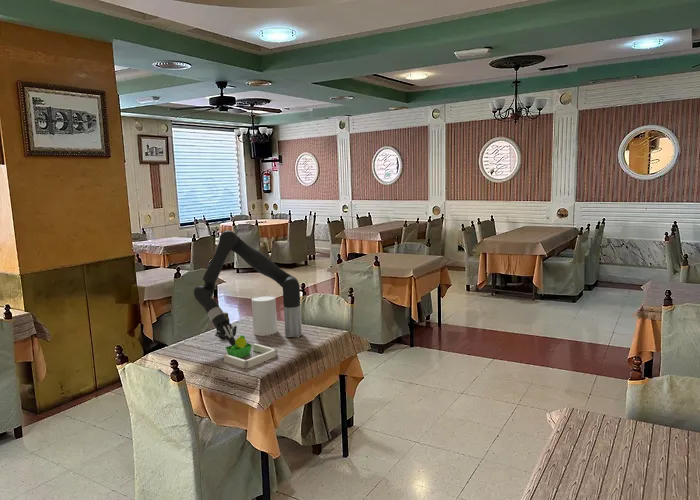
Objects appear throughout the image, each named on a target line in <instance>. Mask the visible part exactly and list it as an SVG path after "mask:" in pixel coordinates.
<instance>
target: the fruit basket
mask: <svg viewBox="0 0 700 500" xmlns="http://www.w3.org/2000/svg"><path fill="white" fill-rule="evenodd" d="M252 347H253V344H250V343H248V342H247V339H246V337H245V335H243V334H242V335H241V334H240V336H238V337H237V338H236V339H235V345H228V346H226V347H225V350H226V352H227V354H228V355H231V356H234V357H237V358H240V359H241V358H243V357H246V356H250V354H251V350H252Z"/></svg>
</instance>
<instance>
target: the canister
mask: <svg viewBox="0 0 700 500" xmlns="http://www.w3.org/2000/svg"><path fill="white" fill-rule="evenodd" d="M251 311H252V312H251V313H252V326H253V335H255V336H259V337H260V336H261V337H262V336H263V337H264V336H265V335H266V336H271V334H272V335H275V334H277V333H278V319H277V317H278V316H277V301H276V296H274V295H269V294H268V295H258V296H253V297H252V298H251ZM274 333H275V334H274Z"/></svg>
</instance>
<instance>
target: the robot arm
mask: <svg viewBox="0 0 700 500" xmlns="http://www.w3.org/2000/svg"><path fill="white" fill-rule="evenodd" d="M218 239H219V240H218V244H217V248H216V250H215V253H214V255H213V257H212V259H211V260H210V263H209V264H208V266H207V268H206V270H205V273H204V275H203V277H202V280H203V282H204V285H198V286H196V287H194V289H193V296H194V298H195V299H196V301H197V302H198V303H199V305H201V307H203V308H204V310H205V313H206V314H207V315H208V318H209V319H210V321H211V323H212V325H213V327H214V328H215V329H216V332H215V334H214V336H215V337H217V338H219V339H221V340H223V341H228V343H229V344H230V345H229V346H232V345H235V341H236V339H235V336H236V335H237V325H232V324H231V323H229V321H230V320H229V321H228V319H227V317H226V316H225V314H224V313H225V312H224V310H223V309H222V308H221V306H220V304H218V302H217V301H216V299H214V298H212V296H213V295H214V292H215V288H216V287H215V286H216V282H217V280H218V278H219V276H220V274H221V272H222V270H223V266H224V264H225V262H226V259H228V258H227V257H228V255H229V254H230V252H231V251H232V252H234V253H235V254H236V255H238V256H239V257H240V258H241V259H243V261H244V262H245V263H247V265H249V266H250V267H251V268H252V269H254V271H256V272H257V273H260V275H263V276H265V277H268V279H269V278H270V279H271V280H273V281H275V282H276V284H278V285H279V286H280V287H282V298H283V301H282V302H283V317H284V318H283V320H284V323H283V324H284V337H286V338H287V337H296V338H299V337H298V336H301V335H302V336H303V326H302V317H301V314H302V313H301V289H300V288H301V287H300V282H299V280H298V279H297V277H295V276H293V275H291V274H289V273H288V272H286V271H285V270H283V269H282V268H280V267H279V266H278V265H277V264H276V263H275V262H274V261H273V260H271V259H270V258H269V257H267V256H266V255H265V254H264V253H262V252H261V251H259V250H257V249H255V248H254V247H252V246H250V245H248V244H247V243H246V242H245V241H244V240H242V238H240V237H239V236H238V234H236V233H235V232H234V231H232V230H225V231H223V232H222V233H221V234H220V235H219V238H218ZM302 336H301V337H302Z"/></svg>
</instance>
